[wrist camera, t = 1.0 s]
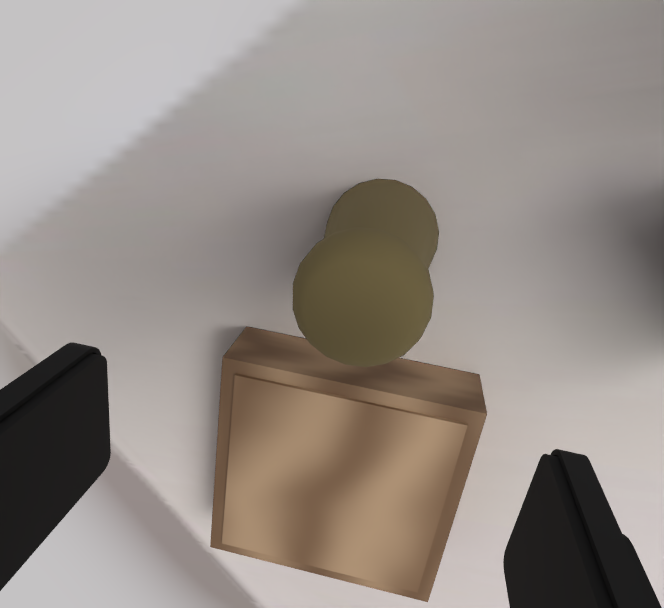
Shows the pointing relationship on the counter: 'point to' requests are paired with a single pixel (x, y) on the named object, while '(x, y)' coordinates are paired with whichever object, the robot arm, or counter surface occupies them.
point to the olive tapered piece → (369, 275)
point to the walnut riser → (341, 461)
